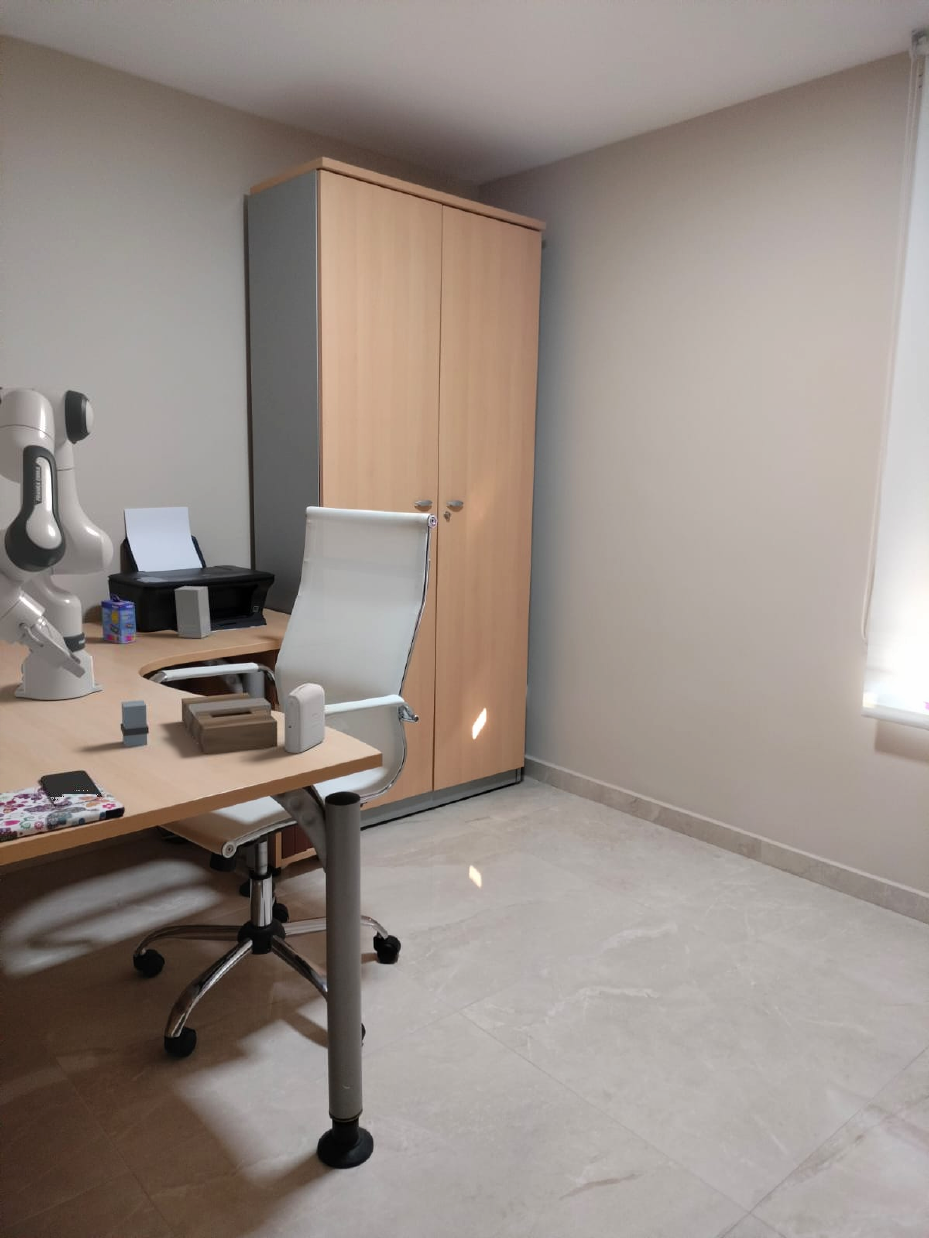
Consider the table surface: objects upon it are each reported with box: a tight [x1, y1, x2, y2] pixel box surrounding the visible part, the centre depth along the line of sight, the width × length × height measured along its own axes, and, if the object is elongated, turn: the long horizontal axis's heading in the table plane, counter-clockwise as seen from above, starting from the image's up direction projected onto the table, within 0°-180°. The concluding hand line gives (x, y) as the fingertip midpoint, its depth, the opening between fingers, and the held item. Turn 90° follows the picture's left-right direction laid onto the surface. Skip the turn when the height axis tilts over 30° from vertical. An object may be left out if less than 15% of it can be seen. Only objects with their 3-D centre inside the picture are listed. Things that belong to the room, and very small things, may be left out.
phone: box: [40, 769, 103, 801], centre depth 151 cm, size 7×1×15 cm
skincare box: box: [174, 585, 212, 639], centre depth 283 cm, size 8×7×16 cm
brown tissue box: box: [181, 692, 278, 755], centre depth 184 cm, size 24×14×5 cm, turn 27°
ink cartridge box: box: [100, 593, 137, 645], centre depth 273 cm, size 10×6×14 cm, turn 54°
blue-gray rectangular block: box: [120, 699, 150, 748], centre depth 176 cm, size 5×5×8 cm
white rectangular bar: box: [189, 697, 272, 717], centre depth 184 cm, size 6×15×4 cm, turn 117°
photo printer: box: [283, 683, 326, 754], centre depth 177 cm, size 10×4×12 cm, turn 158°
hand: (80, 669), depth 170 cm, fingers open, 8 cm apart
